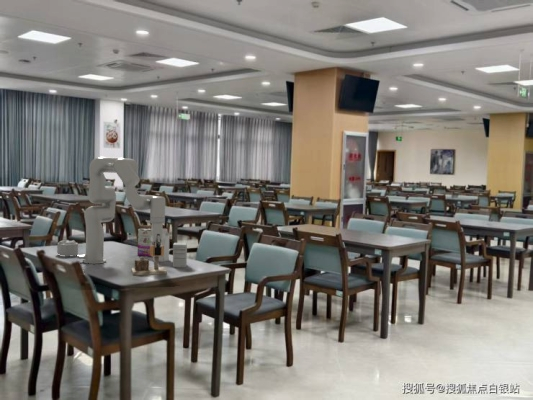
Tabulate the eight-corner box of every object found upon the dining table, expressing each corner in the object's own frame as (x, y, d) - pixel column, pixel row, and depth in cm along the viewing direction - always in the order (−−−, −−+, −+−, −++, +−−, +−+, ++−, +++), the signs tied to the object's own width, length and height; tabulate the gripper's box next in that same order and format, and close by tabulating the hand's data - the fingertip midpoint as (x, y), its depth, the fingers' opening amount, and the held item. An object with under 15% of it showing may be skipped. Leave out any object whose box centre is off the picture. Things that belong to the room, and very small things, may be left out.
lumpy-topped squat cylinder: (63, 257, 311) (63, 242, 310) (53, 254, 320) (53, 239, 319) (80, 255, 318) (80, 241, 317) (70, 252, 327) (70, 238, 327)
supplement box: (173, 264, 300) (174, 242, 299) (186, 265, 301) (187, 242, 300) (172, 267, 293) (172, 244, 292) (185, 267, 293) (186, 244, 292)
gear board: (133, 274, 268) (133, 259, 268) (131, 270, 279) (131, 255, 278) (166, 273, 274) (167, 258, 273) (163, 269, 284) (164, 254, 284)
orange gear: (150, 256, 273) (150, 247, 272) (149, 254, 279) (149, 244, 279) (164, 256, 275) (164, 246, 275) (162, 254, 282) (162, 244, 281)
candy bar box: (157, 256, 326) (157, 229, 325) (152, 257, 322) (153, 230, 321) (141, 254, 330) (142, 228, 329) (137, 255, 326) (137, 228, 325)
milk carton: (164, 262, 307) (165, 229, 306) (152, 261, 308) (153, 228, 307) (168, 260, 314) (169, 228, 313) (157, 259, 315) (158, 227, 314)
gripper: (148, 218, 283) (147, 251, 284) (152, 221, 267) (151, 257, 268) (162, 218, 285) (161, 251, 286) (167, 221, 269) (166, 256, 270)
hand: (156, 253), depth 277 cm, fingers closed on orange gear, 7 cm apart
